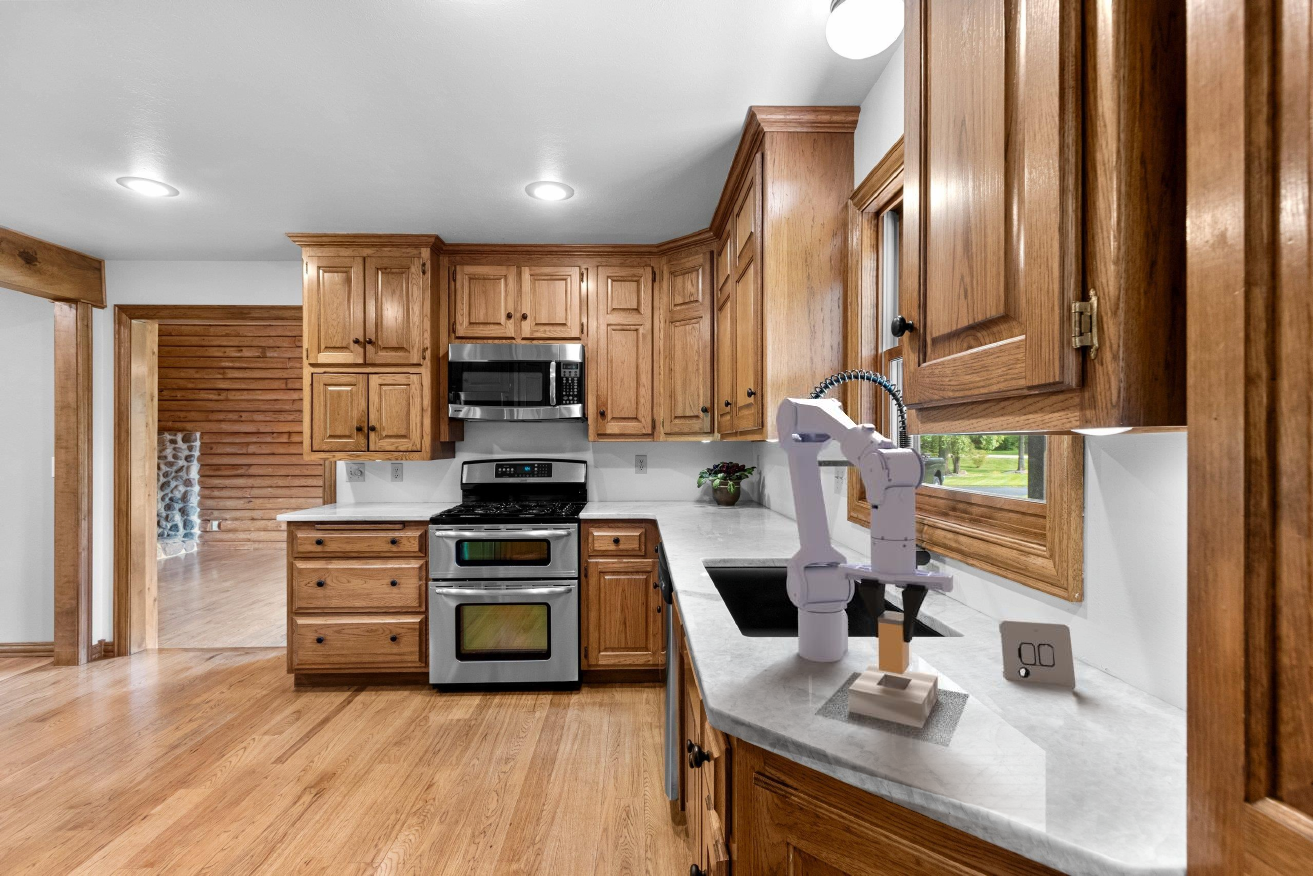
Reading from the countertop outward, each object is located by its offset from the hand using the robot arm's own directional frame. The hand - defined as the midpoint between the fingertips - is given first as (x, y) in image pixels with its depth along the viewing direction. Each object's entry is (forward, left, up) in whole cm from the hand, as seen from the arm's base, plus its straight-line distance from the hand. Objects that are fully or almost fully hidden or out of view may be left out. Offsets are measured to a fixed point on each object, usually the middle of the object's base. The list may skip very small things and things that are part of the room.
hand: (893, 638), depth 85 cm
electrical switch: (-22, +15, -10) cm, 28 cm away
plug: (0, 0, -4) cm, 4 cm away
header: (0, 0, -10) cm, 10 cm away
